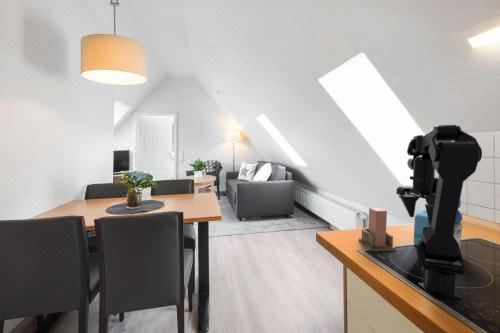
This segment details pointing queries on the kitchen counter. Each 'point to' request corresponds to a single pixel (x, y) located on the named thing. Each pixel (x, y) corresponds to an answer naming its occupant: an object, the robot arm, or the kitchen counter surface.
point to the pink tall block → (378, 225)
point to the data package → (420, 225)
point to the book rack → (369, 241)
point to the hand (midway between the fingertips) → (421, 221)
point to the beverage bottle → (458, 226)
